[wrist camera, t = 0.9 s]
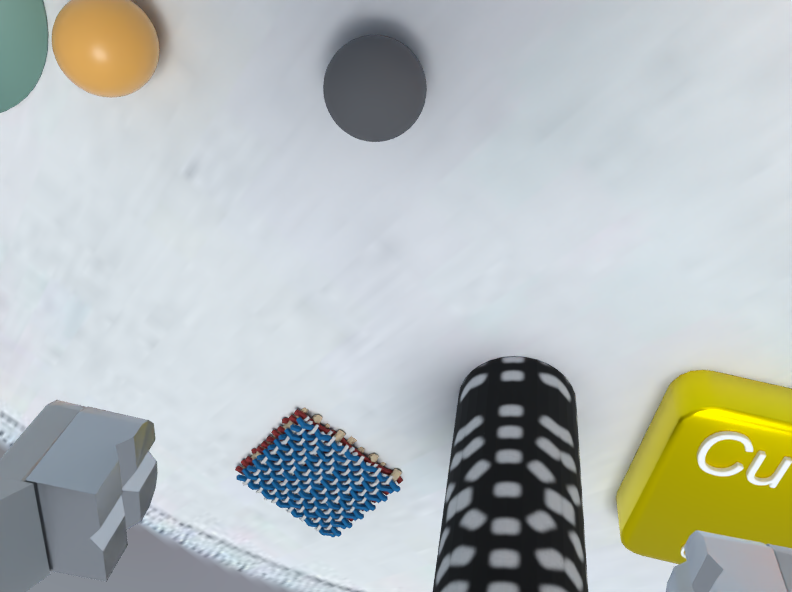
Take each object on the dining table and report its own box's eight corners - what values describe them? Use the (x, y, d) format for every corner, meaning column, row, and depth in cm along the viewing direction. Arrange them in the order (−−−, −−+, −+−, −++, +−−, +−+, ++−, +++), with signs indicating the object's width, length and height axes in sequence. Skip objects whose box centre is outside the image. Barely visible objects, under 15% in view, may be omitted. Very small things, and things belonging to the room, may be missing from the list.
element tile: (607, 505, 59) (612, 556, 55) (678, 359, 51) (690, 406, 47) (799, 550, 59) (817, 604, 55) (902, 409, 50) (933, 461, 46)
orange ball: (77, -25, 42) (22, -4, 38) (172, -10, 42) (128, 13, 38) (89, 72, 46) (39, 102, 41) (177, 86, 45) (137, 118, 41)
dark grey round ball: (339, 16, 41) (315, 43, 37) (438, 31, 41) (426, 61, 37) (333, 112, 44) (309, 148, 40) (425, 127, 44) (412, 165, 40)
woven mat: (303, 395, 58) (296, 412, 56) (409, 469, 61) (406, 488, 59) (234, 461, 63) (225, 479, 62) (334, 527, 66) (329, 546, 64)
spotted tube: (575, 355, 51) (593, 619, 35) (576, 445, 56) (593, 718, 39) (453, 357, 53) (414, 610, 36) (464, 444, 57) (434, 706, 41)
